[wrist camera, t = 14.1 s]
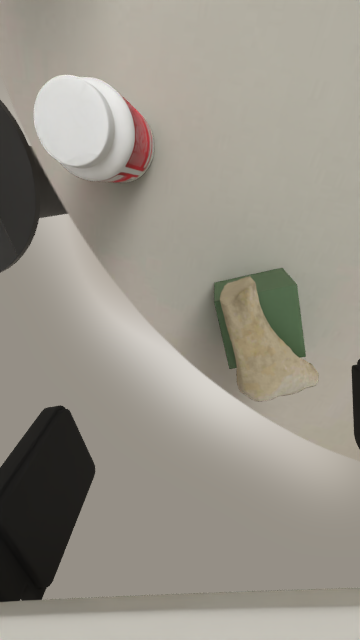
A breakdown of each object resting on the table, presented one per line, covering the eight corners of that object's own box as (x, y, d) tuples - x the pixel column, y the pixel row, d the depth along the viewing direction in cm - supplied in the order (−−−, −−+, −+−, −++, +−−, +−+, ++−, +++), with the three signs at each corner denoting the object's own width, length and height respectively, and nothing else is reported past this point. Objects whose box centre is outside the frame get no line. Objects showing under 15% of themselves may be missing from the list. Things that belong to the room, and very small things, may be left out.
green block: (227, 341, 35) (229, 369, 29) (214, 282, 32) (214, 301, 27) (291, 329, 34) (305, 356, 28) (282, 267, 31) (297, 284, 26)
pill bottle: (124, 89, 27) (68, 27, 16) (168, 152, 28) (142, 130, 18) (76, 141, 29) (-1, 114, 18) (120, 197, 30) (71, 200, 20)
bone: (316, 367, 28) (333, 400, 24) (256, 397, 30) (263, 433, 26) (248, 270, 25) (253, 287, 21) (188, 310, 28) (181, 334, 23)
